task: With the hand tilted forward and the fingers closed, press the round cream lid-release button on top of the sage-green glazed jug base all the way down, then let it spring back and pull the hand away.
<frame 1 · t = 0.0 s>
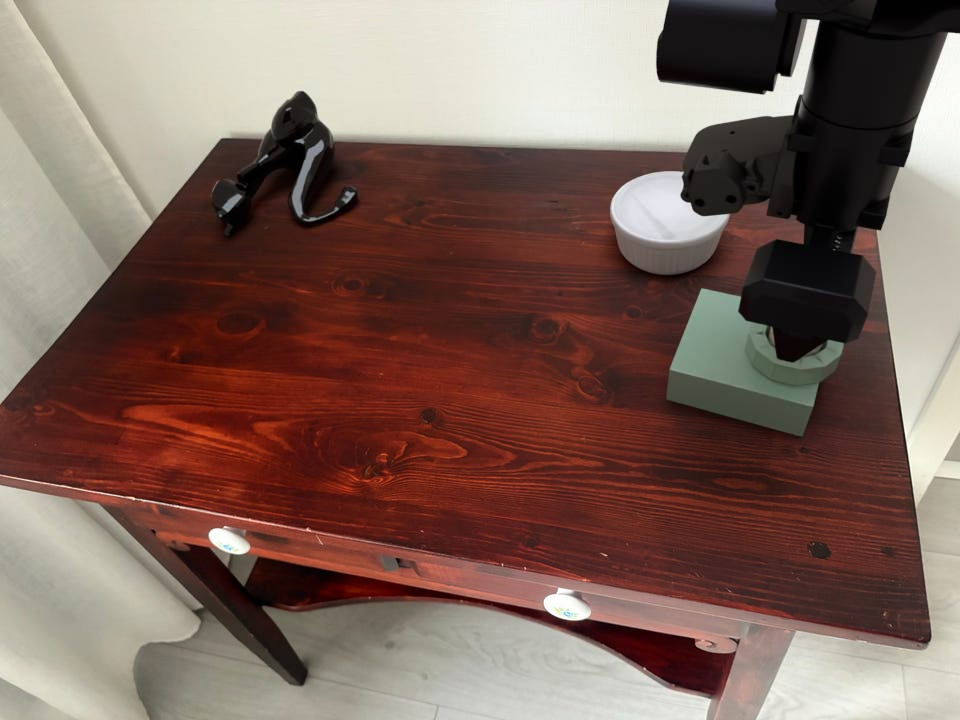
hand: (798, 310, 51), 13 cm above the table, tool pointing down, fingers open, 9 cm apart
jug base: (745, 374, 64), on the table
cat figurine: (302, 203, 89), on the table
jug button: (798, 327, 58), point 7 cm above the table, slide at 0.1 cm
ramekin: (665, 247, 76), on the table
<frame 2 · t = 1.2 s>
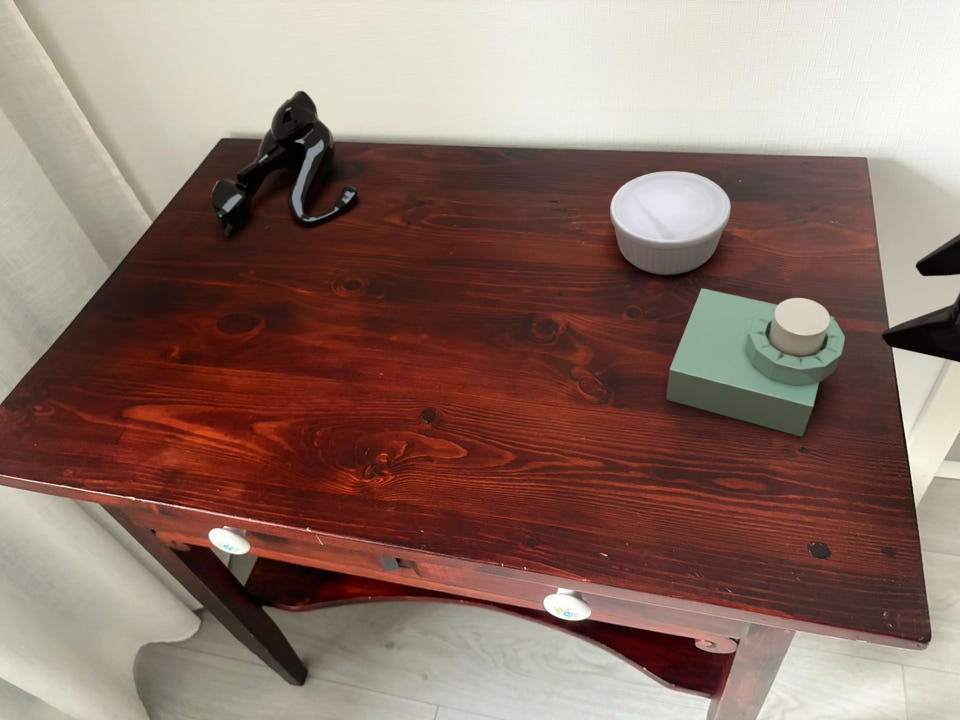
hand: (902, 303, 51), 12 cm above the table, tool tilted 45°, fingers open, 7 cm apart
nothing on the table moved.
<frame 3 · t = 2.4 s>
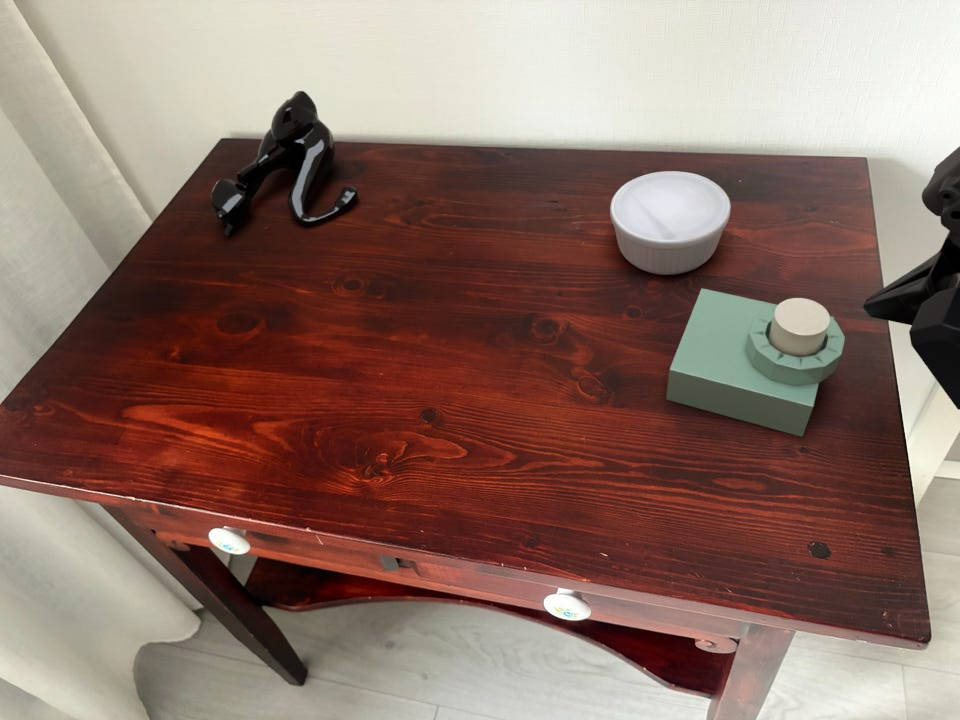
hand: (867, 308, 53), 11 cm above the table, tool tilted 45°, fingers closed
nothing on the table moved.
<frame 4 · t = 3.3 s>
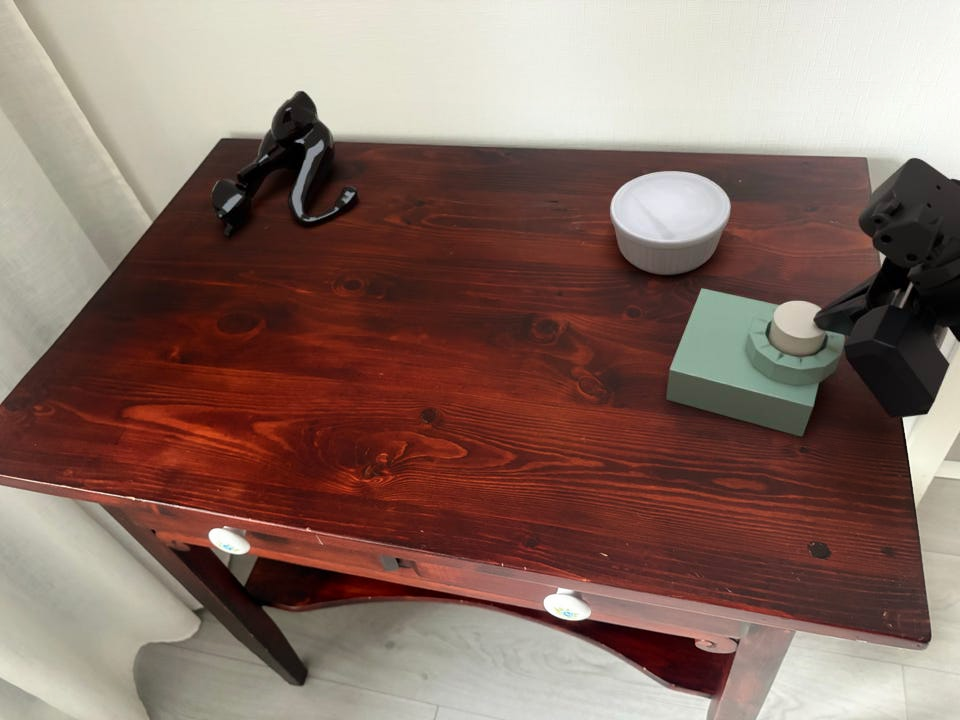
hand: (817, 321, 57), 8 cm above the table, tool tilted 45°, fingers closed, pressing on jug button
jug button: (797, 330, 58), point 7 cm above the table, slide at -0.2 cm, touching gripper
everything else where it was.
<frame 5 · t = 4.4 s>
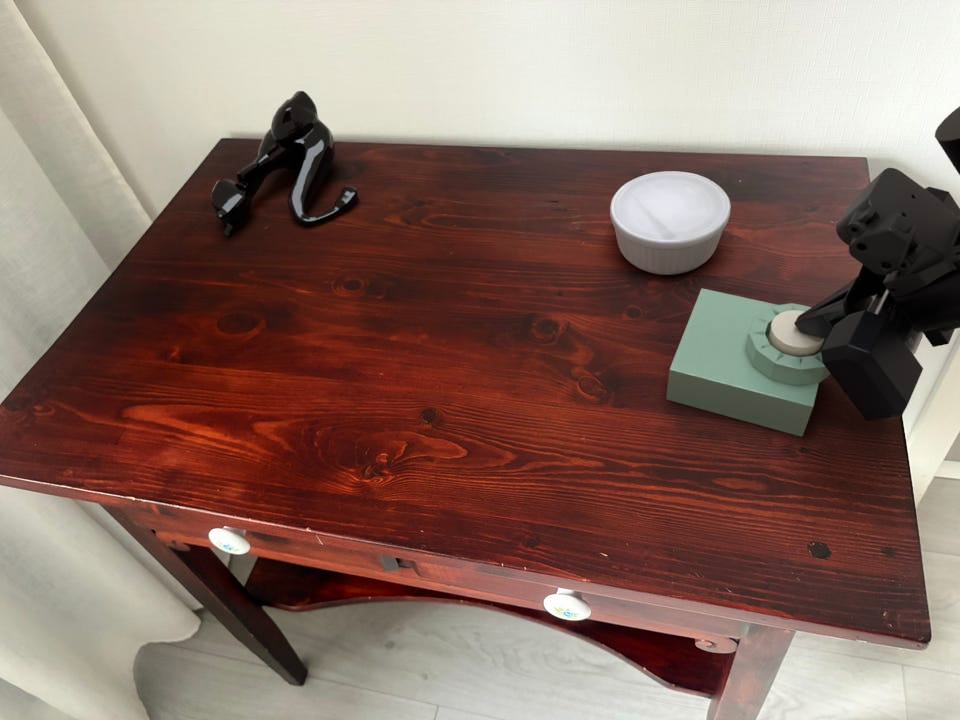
hand: (798, 325, 58), 7 cm above the table, tool tilted 45°, fingers closed, pressing on jug button
jug button: (795, 339, 59), point 5 cm above the table, slide at -1.3 cm, touching gripper
everything else where it was.
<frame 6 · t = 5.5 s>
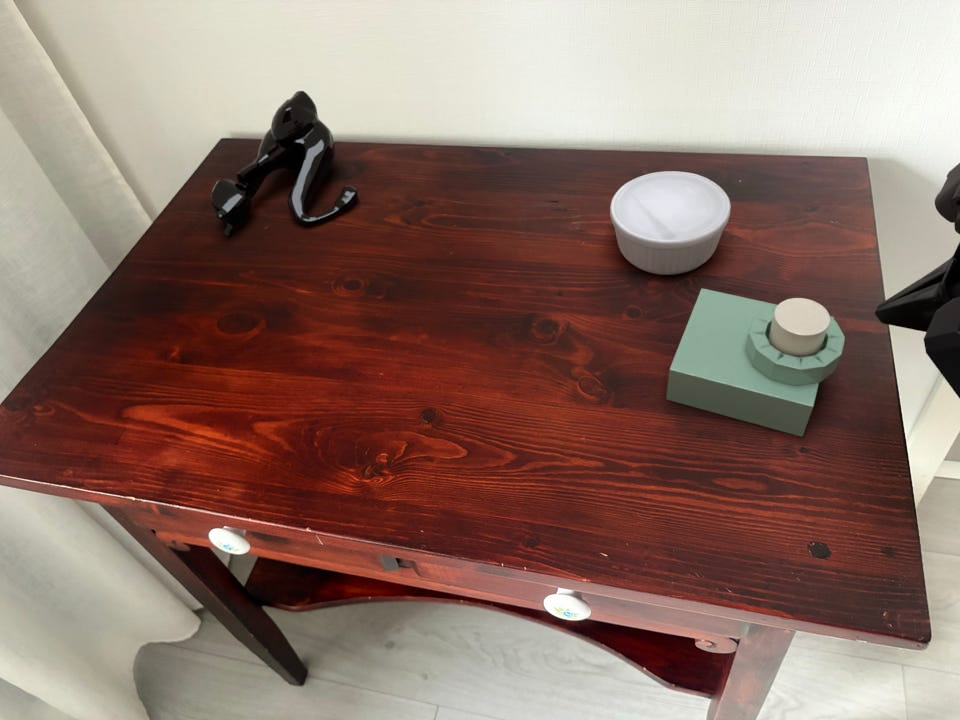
hand: (879, 314, 53), 11 cm above the table, tool tilted 45°, fingers closed
jug button: (798, 327, 58), point 7 cm above the table, slide at 0.1 cm
everything else where it was.
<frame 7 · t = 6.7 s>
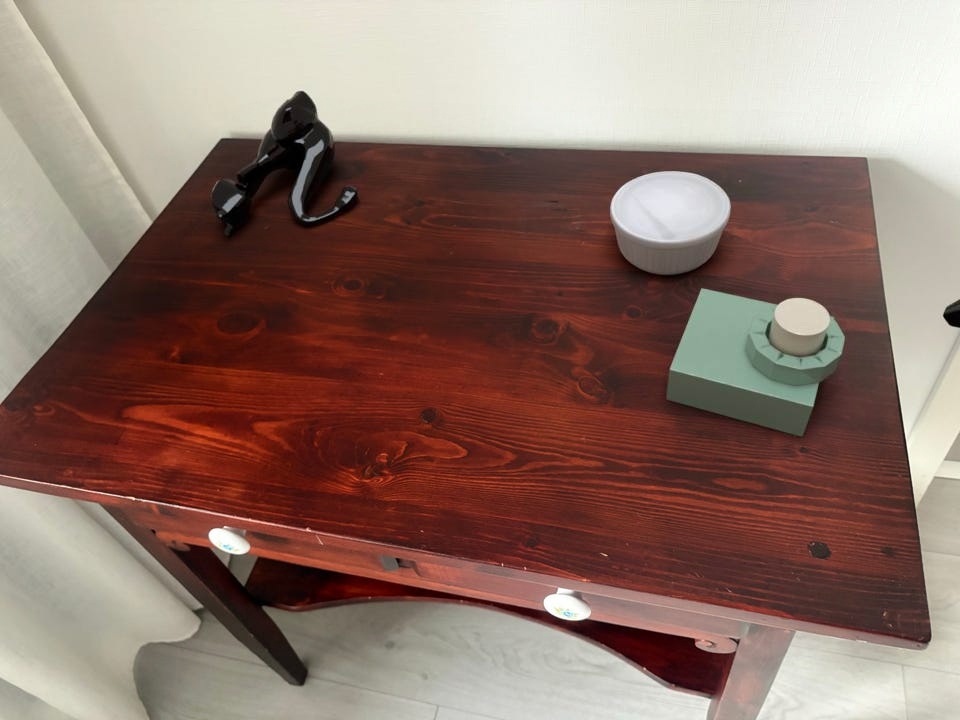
hand: (947, 317, 50), 13 cm above the table, tool tilted 45°, fingers closed
nothing on the table moved.
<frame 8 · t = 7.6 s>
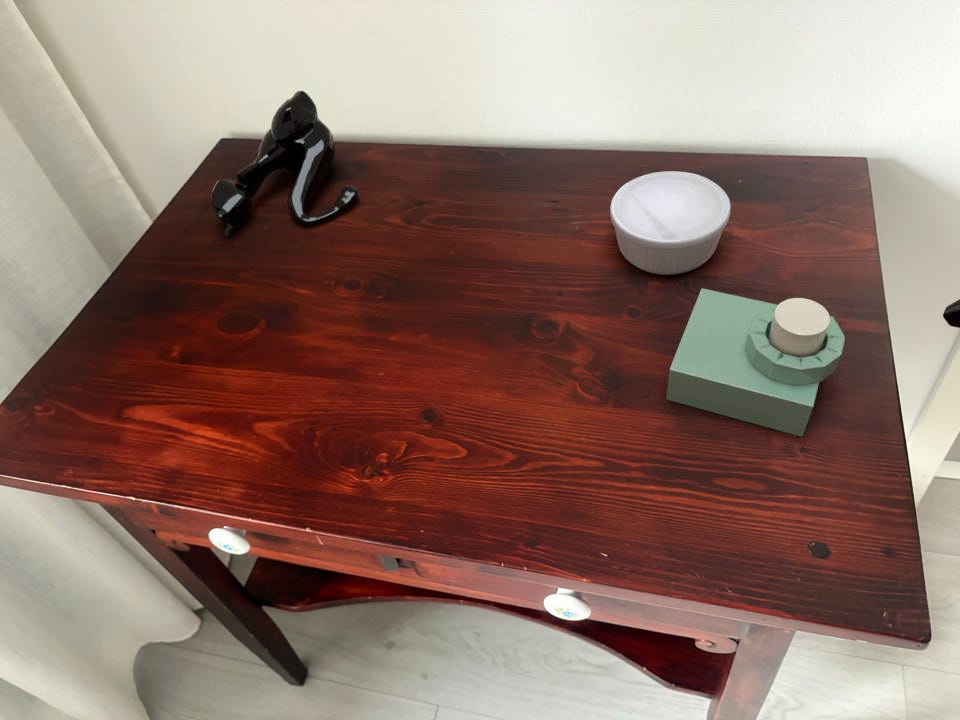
hand: (947, 317, 50), 13 cm above the table, tool tilted 45°, fingers closed
nothing on the table moved.
at the end: jug button pushed in 1.5 cm at the most during the clip, back to where it started at the end; jug button slide at 0.1 cm; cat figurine moved 0.2 cm from its start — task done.
